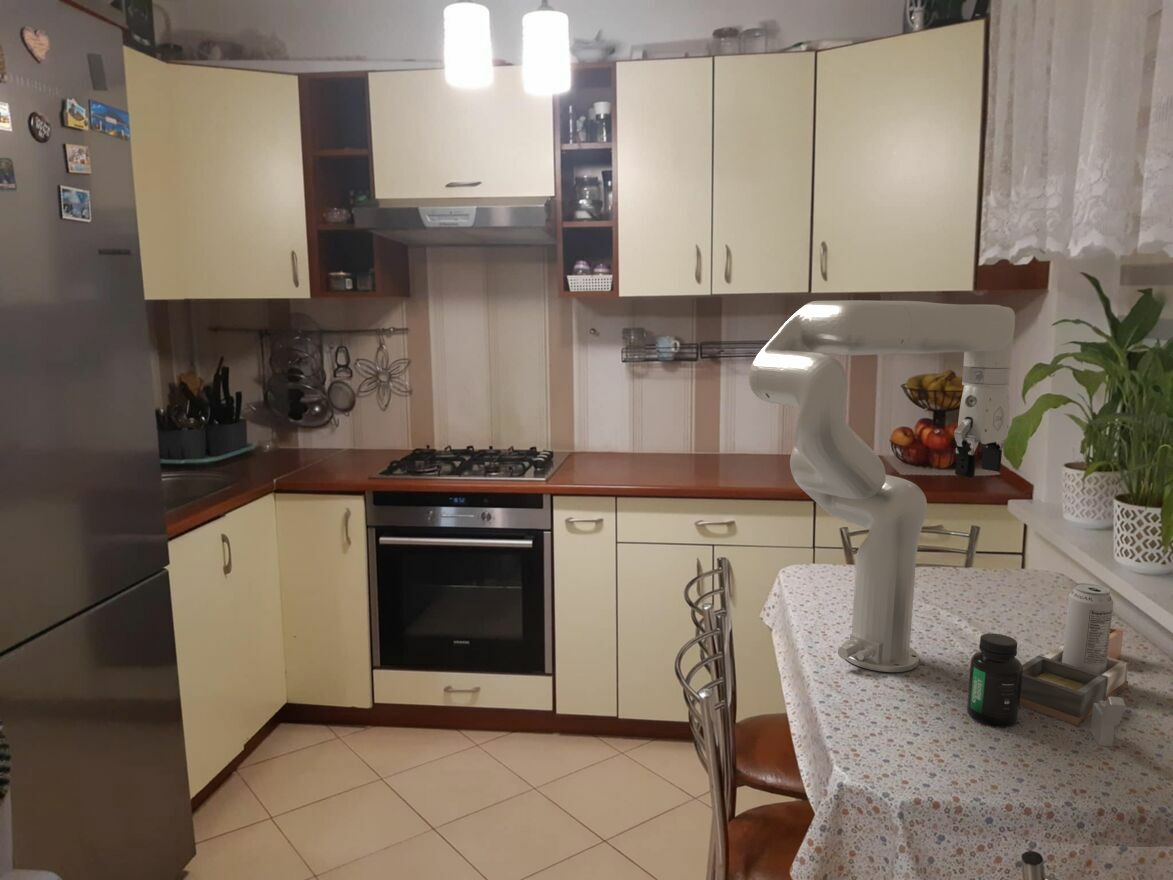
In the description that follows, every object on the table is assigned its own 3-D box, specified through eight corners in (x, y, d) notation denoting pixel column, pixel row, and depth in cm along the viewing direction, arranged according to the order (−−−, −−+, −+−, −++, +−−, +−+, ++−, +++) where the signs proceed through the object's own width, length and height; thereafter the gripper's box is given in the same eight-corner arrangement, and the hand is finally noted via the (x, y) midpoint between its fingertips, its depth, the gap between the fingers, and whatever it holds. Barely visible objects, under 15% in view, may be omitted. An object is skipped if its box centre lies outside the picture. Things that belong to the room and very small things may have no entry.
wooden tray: (1077, 725, 121) (1080, 696, 120) (1006, 700, 128) (1009, 672, 128) (1127, 687, 133) (1130, 660, 132) (1060, 666, 141) (1063, 640, 140)
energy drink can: (1081, 668, 138) (1091, 580, 135) (1113, 684, 132) (1124, 592, 130) (1051, 672, 136) (1061, 583, 134) (1082, 688, 130) (1092, 596, 128)
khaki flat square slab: (1071, 707, 123) (1072, 698, 123) (1025, 691, 128) (1026, 683, 128) (1089, 694, 127) (1090, 686, 127) (1043, 680, 132) (1044, 671, 132)
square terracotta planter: (1107, 666, 141) (1112, 618, 139) (1068, 655, 145) (1073, 608, 144) (1120, 657, 145) (1125, 610, 143) (1082, 646, 149) (1087, 600, 148)
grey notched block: (1089, 730, 119) (1095, 677, 118) (1103, 732, 119) (1109, 679, 117) (1105, 756, 112) (1111, 699, 111) (1119, 758, 112) (1126, 701, 111)
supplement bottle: (973, 725, 120) (980, 646, 118) (960, 704, 127) (967, 628, 125) (1024, 730, 119) (1032, 650, 117) (1009, 708, 126) (1016, 632, 124)
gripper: (983, 381, 139) (975, 482, 141) (1029, 376, 150) (1021, 470, 152) (940, 378, 144) (933, 475, 147) (987, 374, 155) (980, 464, 158)
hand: (977, 473), depth 150 cm, fingers open, 9 cm apart
